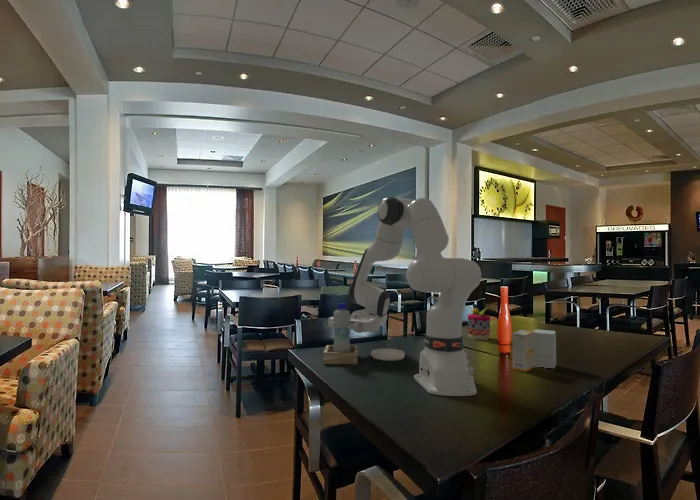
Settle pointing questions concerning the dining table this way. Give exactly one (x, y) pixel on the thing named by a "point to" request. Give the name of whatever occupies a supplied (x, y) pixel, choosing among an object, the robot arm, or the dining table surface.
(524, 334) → the supplement box
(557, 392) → the dining table surface
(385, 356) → the ceramic plate
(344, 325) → the bottle
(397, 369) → the dining table surface
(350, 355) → the box
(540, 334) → the supplement box
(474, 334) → the cake
